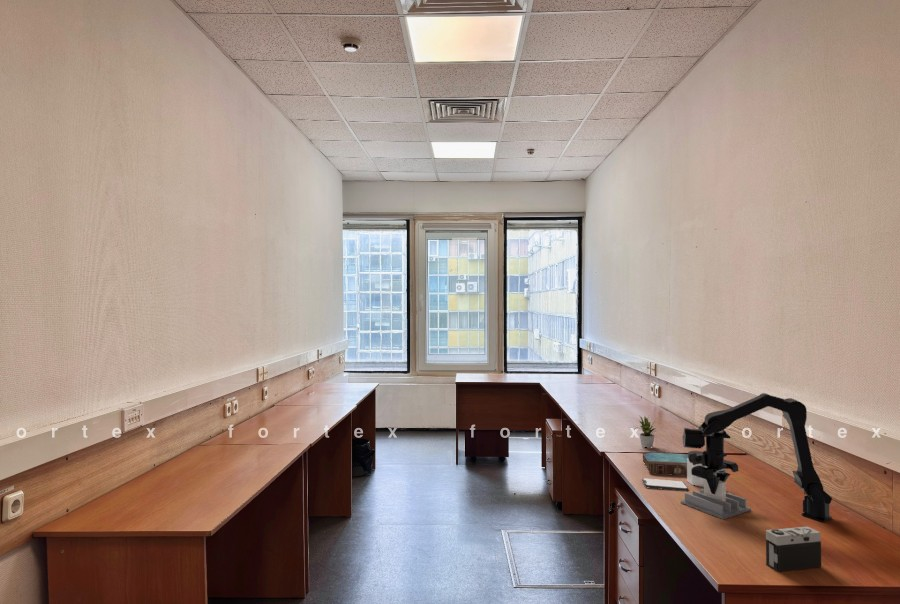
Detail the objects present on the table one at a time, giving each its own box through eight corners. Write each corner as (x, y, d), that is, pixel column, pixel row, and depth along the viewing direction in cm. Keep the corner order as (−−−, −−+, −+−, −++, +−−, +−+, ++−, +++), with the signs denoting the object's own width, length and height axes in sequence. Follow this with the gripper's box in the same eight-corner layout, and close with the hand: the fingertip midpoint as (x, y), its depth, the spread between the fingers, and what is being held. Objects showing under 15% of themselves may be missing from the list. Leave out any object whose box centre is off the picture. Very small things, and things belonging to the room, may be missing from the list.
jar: (686, 484, 201) (686, 454, 201) (687, 478, 208) (687, 449, 208) (711, 488, 197) (711, 457, 197) (712, 482, 204) (711, 452, 204)
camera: (796, 553, 145) (796, 518, 145) (822, 568, 137) (822, 531, 137) (754, 557, 142) (754, 522, 142) (778, 572, 134) (777, 535, 134)
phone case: (683, 485, 203) (641, 481, 206) (683, 481, 203) (641, 477, 206) (689, 493, 194) (645, 489, 197) (689, 488, 194) (645, 485, 197)
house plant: (624, 443, 261) (624, 412, 262) (646, 441, 266) (646, 410, 266) (642, 451, 248) (642, 418, 248) (665, 449, 252) (665, 416, 252)
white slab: (725, 505, 176) (725, 482, 176) (722, 506, 175) (722, 483, 175) (707, 498, 182) (707, 476, 182) (703, 499, 181) (703, 477, 182)
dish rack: (750, 510, 175) (750, 499, 176) (722, 519, 168) (722, 508, 168) (708, 495, 190) (708, 485, 190) (680, 503, 182) (680, 492, 182)
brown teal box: (649, 475, 214) (649, 463, 214) (641, 462, 231) (641, 451, 231) (706, 478, 210) (706, 466, 210) (694, 465, 227) (694, 454, 227)
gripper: (710, 440, 190) (710, 482, 190) (677, 447, 181) (678, 490, 181) (739, 447, 181) (739, 491, 180) (706, 455, 172) (706, 501, 171)
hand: (715, 493), depth 179 cm, fingers closed on white slab, 2 cm apart
